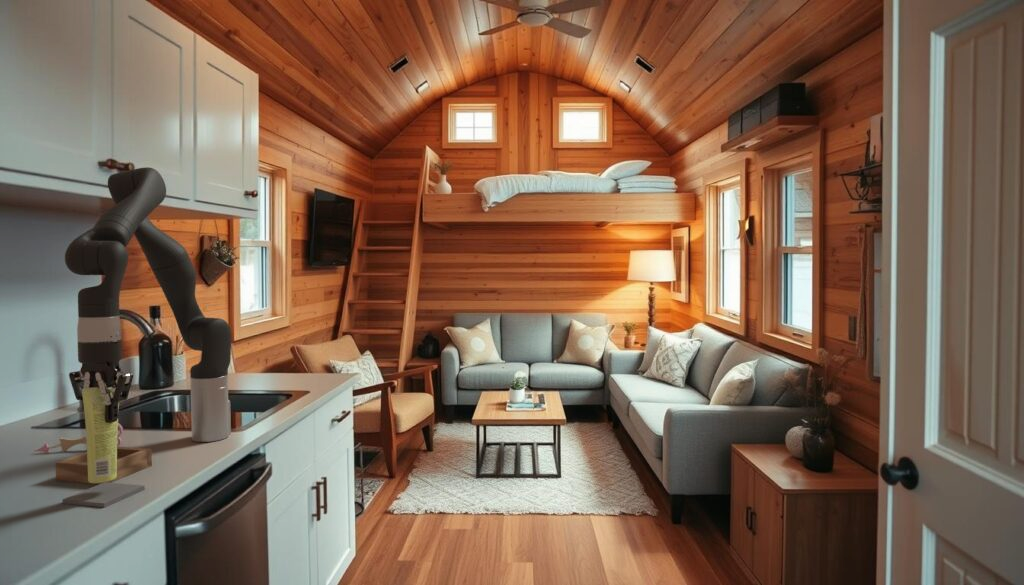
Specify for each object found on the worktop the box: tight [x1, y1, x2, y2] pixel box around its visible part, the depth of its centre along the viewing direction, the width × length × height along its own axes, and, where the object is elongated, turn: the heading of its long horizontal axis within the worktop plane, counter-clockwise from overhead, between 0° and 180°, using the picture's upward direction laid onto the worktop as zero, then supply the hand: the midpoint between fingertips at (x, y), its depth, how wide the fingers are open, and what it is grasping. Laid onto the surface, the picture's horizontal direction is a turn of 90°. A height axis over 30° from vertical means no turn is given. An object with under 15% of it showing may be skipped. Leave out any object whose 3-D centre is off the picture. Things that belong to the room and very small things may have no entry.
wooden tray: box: [54, 446, 153, 485], centre depth 141 cm, size 13×13×4 cm
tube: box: [81, 387, 120, 484], centre depth 126 cm, size 6×5×20 cm
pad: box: [61, 482, 145, 508], centre depth 127 cm, size 10×10×1 cm
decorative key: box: [34, 422, 124, 454], centre depth 158 cm, size 7×1×20 cm
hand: (102, 421), depth 126 cm, fingers closed on tube, 4 cm apart
